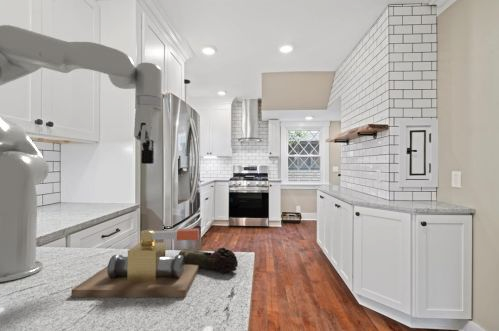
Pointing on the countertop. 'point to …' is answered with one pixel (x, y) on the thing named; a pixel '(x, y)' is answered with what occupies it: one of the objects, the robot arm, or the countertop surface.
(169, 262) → the pipe and valve
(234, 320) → the countertop surface
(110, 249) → the countertop surface
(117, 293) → the mounting board
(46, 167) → the robot arm
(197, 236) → the valve lever
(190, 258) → the olive brown elongated lump
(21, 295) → the countertop surface
